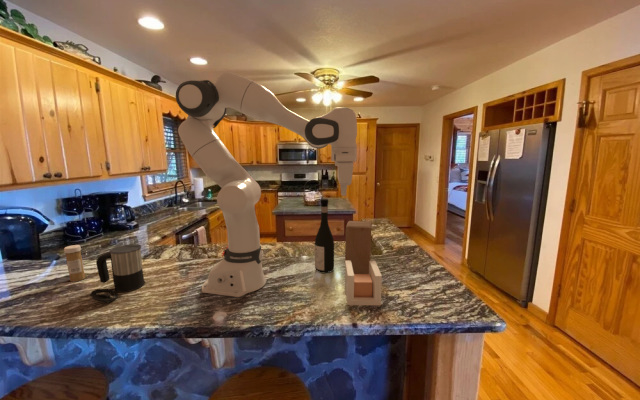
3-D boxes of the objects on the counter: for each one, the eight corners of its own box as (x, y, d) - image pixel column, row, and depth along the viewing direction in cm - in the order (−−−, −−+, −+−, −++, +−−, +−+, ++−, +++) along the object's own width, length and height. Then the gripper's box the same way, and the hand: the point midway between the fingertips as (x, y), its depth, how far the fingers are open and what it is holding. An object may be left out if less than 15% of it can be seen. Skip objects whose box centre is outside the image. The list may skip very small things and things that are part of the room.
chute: (347, 304, 83) (347, 275, 81) (345, 286, 95) (345, 260, 93) (380, 305, 83) (381, 276, 81) (374, 286, 95) (375, 260, 93)
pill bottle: (87, 276, 104) (82, 243, 102) (82, 281, 100) (76, 247, 98) (73, 277, 102) (67, 245, 100) (67, 283, 98) (61, 249, 96)
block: (353, 299, 86) (354, 282, 85) (352, 289, 92) (352, 273, 91) (371, 299, 86) (372, 282, 85) (369, 290, 92) (369, 274, 91)
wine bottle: (319, 275, 104) (319, 201, 99) (312, 267, 111) (311, 198, 106) (337, 271, 107) (337, 200, 102) (329, 264, 114) (329, 197, 109)
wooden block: (369, 276, 103) (371, 227, 99) (344, 274, 105) (345, 226, 101) (370, 266, 112) (371, 221, 109) (347, 264, 114) (347, 220, 111)
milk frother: (147, 278, 102) (142, 242, 99) (142, 297, 88) (137, 255, 86) (100, 287, 95) (94, 248, 93) (88, 309, 81) (80, 264, 79)
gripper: (334, 156, 101) (334, 191, 104) (335, 156, 81) (335, 199, 83) (350, 156, 101) (349, 191, 103) (356, 156, 81) (355, 199, 83)
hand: (343, 195), depth 93 cm, fingers closed
